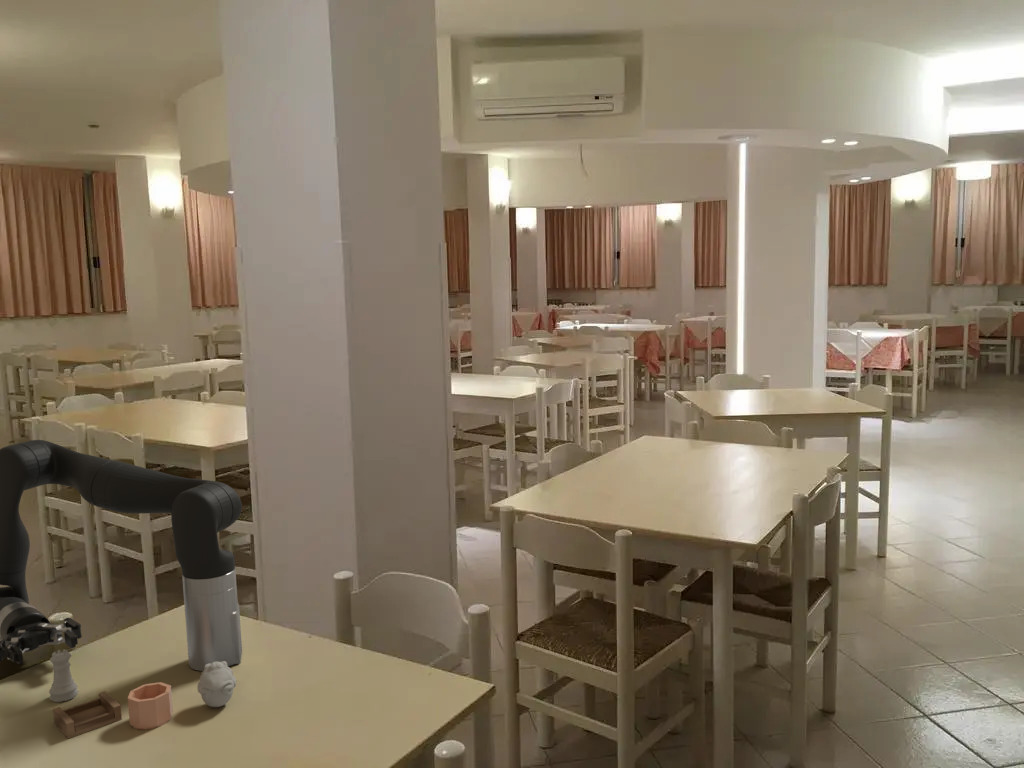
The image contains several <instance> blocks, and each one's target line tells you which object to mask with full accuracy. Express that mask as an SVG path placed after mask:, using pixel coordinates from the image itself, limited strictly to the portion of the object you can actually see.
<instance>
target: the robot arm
mask: <svg viewBox="0 0 1024 768" xmlns="http://www.w3.org/2000/svg"><path fill="white" fill-rule="evenodd" d="M44 485H59V486H60V485H62V486H66V487H70V488H74V489H75V490H77V492H78V493H79V495H80V496H81V497H82V499H84V501H86V503H88V504H91V505H92V506H95V507H98V508H100V509H104V510H108V511H111V512H112V511H113V512H117V513H123V514H170V515H171V529H172V535H173V543H174V549H175V550H174V552H175V557H176V559H177V562H178V564H179V565H180V567H181V575H182V577H181V578H182V592H183V601H184V614H185V615H184V616H185V628H186V631H185V632H186V642H187V644H186V645H187V657H188V665H189V667H190V668H191V669H193V670H195V671H200V672H203V671H204V667H205V665H206V664H209V663H210V664H211V663H213V662H216V661H218V662H222V661H226V662H227V666H228V667H231V666H233V665H237V664H241V661H242V660H241V659H242V654H243V653H242V652H243V644H242V642H243V641H242V629H241V614H240V613H241V612H240V603H239V601H238V588H237V587H238V586H237V576H236V575H237V573H236V562H235V559H236V558H235V555H234V553H233V552H232V551H230V550H227V549H222V548H220V545H219V537H218V533H219V532H221V531H224V530H226V529H227V528H229V527H231V526H232V525H233V524H234V523H236V522H237V521H238V519H239V518H240V516H241V514H242V511H243V510H242V509H243V505H242V501H241V500H242V499H241V497H240V496H239V494H238V493H237V492H236V490H235V489H234V488H232V487H231V486H230V485H228V484H226V483H224V482H221V481H216V480H208V479H201V478H200V479H198V478H190V477H183V476H178V475H173V474H170V473H165V472H162V471H158V470H154V469H150V468H145V467H142V466H140V465H135V464H131V463H127V462H124V461H119V460H115V459H109V458H104V457H100V456H96V455H91V454H85V453H81V452H79V451H78V452H77V451H75V450H73V449H70V448H67V447H64V446H62V445H60V444H56V443H54V442H50V441H48V440H43V439H32V440H28V441H27V440H26V441H22V442H18V443H14V444H11V445H7V446H3V447H1V448H0V586H2V587H0V662H1V661H4V659H6V658H7V660H9V661H11V662H12V663H17V664H18V665H20V664H22V663H24V656H23V654H24V653H29V652H32V651H34V650H36V649H38V648H39V647H42V646H46V645H48V646H57V645H59V644H61V643H62V644H65V645H66V646H67V647H69V648H70V649H74V648H76V645H78V643H79V642H78V641H79V639H81V638H82V637H83V636H82V629H81V627H82V624H80V623H79V622H78V621H76V620H74V619H73V618H71V617H66V618H64V619H63V623H60V624H56V623H52V622H50V621H49V619H48V618H47V616H45V615H44V614H43V613H42V612H41V611H40V610H38V609H37V608H36V607H35V606H34V605H31V604H30V601H29V595H28V594H29V593H28V590H27V582H26V573H27V572H26V570H27V564H28V560H29V554H30V547H31V545H30V544H31V543H30V542H31V541H30V536H29V533H28V530H27V528H26V526H25V524H24V523H23V521H22V519H21V515H20V509H19V508H20V502H21V498H22V496H23V493H24V491H26V490H27V491H28V490H30V489H34V488H37V487H41V486H44ZM63 633H64V637H63Z"/></svg>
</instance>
